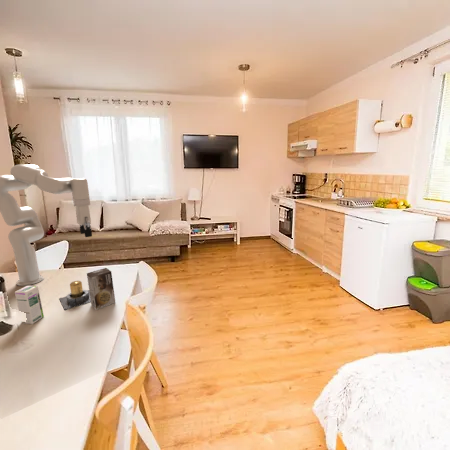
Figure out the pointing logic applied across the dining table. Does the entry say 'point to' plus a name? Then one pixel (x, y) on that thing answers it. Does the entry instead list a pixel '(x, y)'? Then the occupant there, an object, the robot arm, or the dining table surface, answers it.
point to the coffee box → (101, 288)
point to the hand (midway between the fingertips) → (86, 235)
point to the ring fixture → (75, 300)
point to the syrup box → (29, 303)
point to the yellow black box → (76, 289)
